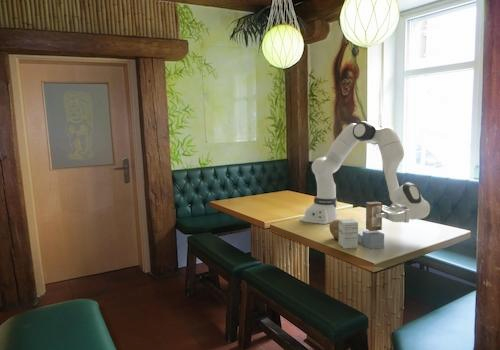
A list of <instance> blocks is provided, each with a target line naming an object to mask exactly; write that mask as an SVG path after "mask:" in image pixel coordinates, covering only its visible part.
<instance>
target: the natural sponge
mask: <svg viewBox="0 0 500 350" xmlns="http://www.w3.org/2000/svg"><path fill="white" fill-rule="evenodd" d="M328 228H329V232H330V234H331V235H332V237H333V238H334V239H335V240H339V219H338V220H334V221H332V222H331V223H329V224H328Z"/></svg>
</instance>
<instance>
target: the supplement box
mask: <svg viewBox="0 0 500 350" xmlns="http://www.w3.org/2000/svg"><path fill="white" fill-rule="evenodd" d="M338 220H339V239H338V244H339V246H341V247H342V249H355V248H356V249H357V248H358V247H359V242H358V231H359V222H358V221H357V220H356V219H354V218H338Z"/></svg>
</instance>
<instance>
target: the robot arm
mask: <svg viewBox="0 0 500 350" xmlns="http://www.w3.org/2000/svg"><path fill="white" fill-rule="evenodd" d="M359 142H363V143H366V144H371V145H377V146H378V149H379V152H380V156H381V163H382V173H383V177H384V178H383V179H384V181H385V186H386V191H387V196H386V197H387V198H386V199H387V203H388V204H389V206H387V205H384V204H382V213H375V217H376V218H382V219H386V220H388V221H391V222H392V223H406V224H407V223H409V222H410V220H413V221H414V220H420V219H424V218H426V217H428V215H429V214H430V212H431V205H430V203H429V202H428V201H427V200H425V198H423V196H422V194H421V191H420V188H419V187H418V185H417V184H415V183H413V182H405V183H403V184H402V185H401V186H400V185H399V179H398V176H397V172H398V171H397V170H398V168H399V166H400V164H401V162H402V161H403V159H404V156H405V152H404V151H405V150H404V147H403V144H402V142H401V139H400V137H399V135H398V133H397V132H396V130H395V129H394V128H393V127H392V126H381V125H379V124H376V123H373V122H368V121H359V122H356V123H354V122H353V123H350V124H348V125H347V126H346V127H345V128H344V129H343V130H342V131H341V132H340V133H339V134H338V135H337V137H336V138H335V140H333V142H332V143H331V145H330V148H329V150H328V152H327V153H326V154H325V155H324V156H320V157H318V158H316V159H315V160H314V161H313V162H312V164H311V172H312V173H313V174H314V176H315V177H314V178H315V181H316V193H317V195H316V196H315V197H314V198H313V203H312V204H311V205H309V206H308V207H307V208H306V209H305V211H304V215H302V216H301V217H300V221H301V222H305V223H314V224H320V225H321V224H323V225H326V224H330V223H331V222H332V221H334V220H339V217H338V213H337V212H338V211H337V205H338V199H337V196H336V195H337V184H336V183H335V181H334V176H333V174H334V173H336V172H337V171H339V169H340V168H341V166H342V164H343V163H344V161H345V159H346V158H347V156H348V155H349V154H350V153H351V152H352V151H353V149H354V148H355V147H356V145H358V143H359Z"/></svg>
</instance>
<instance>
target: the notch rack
mask: <svg viewBox="0 0 500 350" xmlns="http://www.w3.org/2000/svg"><path fill="white" fill-rule="evenodd" d="M358 243H360V244H362V245H363V246H365V247H366V248H369V249H370V250H373V249H380V248H382V249H383V248H384V247H385V233H383V232H381V231H380V230H376V231H369V230H367V229H366V230H365V229H364V230H358Z"/></svg>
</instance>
